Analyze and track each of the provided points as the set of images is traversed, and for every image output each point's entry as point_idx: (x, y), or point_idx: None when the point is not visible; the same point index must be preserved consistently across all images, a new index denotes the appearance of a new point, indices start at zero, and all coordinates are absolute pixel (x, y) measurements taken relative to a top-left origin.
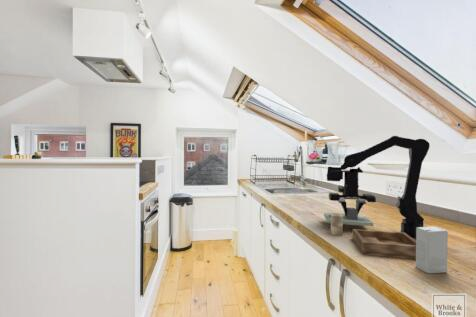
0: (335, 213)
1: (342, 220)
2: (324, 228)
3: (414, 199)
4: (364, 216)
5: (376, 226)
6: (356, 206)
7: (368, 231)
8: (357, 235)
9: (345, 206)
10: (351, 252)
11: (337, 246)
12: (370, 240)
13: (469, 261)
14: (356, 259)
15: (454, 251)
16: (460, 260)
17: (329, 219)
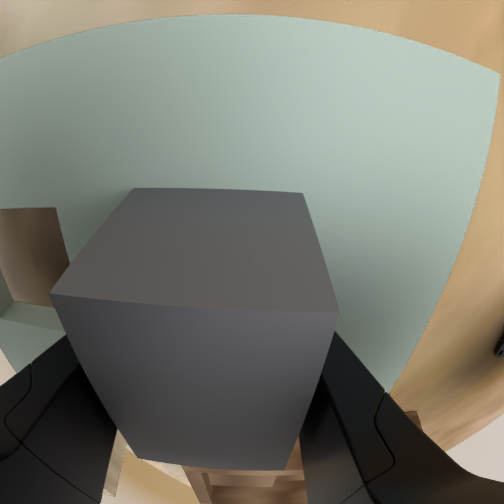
0: (9, 72)
1: (119, 472)
2: (23, 290)
3: None
4: (468, 186)
5: (498, 161)
6: (337, 464)
7: (260, 473)
8: (193, 489)
9: (88, 489)
10: (172, 467)
11: (130, 448)
12: (243, 479)
13: (459, 442)
14: (181, 480)
15: (495, 409)
16: (446, 445)
17: (16, 357)
